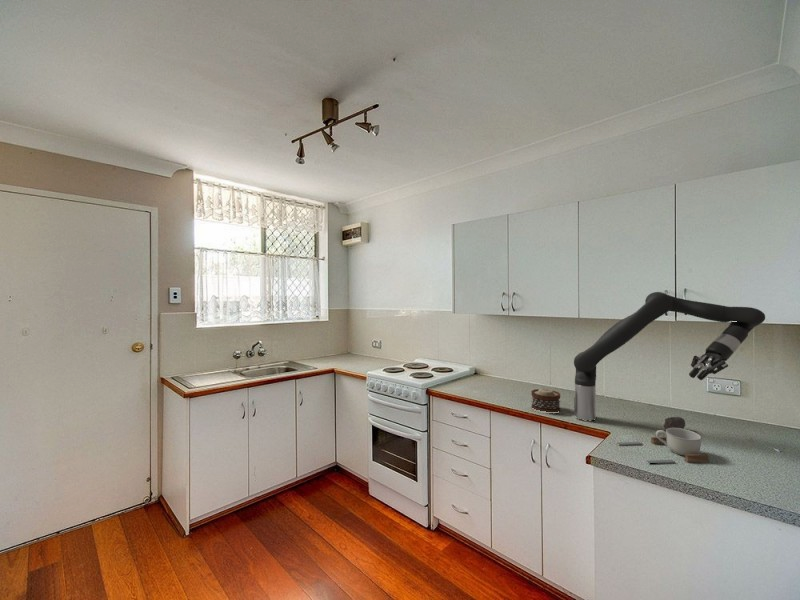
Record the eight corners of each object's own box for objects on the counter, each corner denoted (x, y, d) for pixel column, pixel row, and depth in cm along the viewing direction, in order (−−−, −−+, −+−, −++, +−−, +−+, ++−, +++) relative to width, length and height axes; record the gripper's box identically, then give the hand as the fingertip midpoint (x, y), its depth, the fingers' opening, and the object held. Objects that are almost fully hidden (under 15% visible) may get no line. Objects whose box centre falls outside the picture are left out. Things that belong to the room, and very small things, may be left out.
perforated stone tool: (677, 427, 164) (677, 412, 164) (690, 431, 159) (690, 415, 159) (660, 433, 157) (660, 417, 157) (673, 437, 152) (673, 421, 152)
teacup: (701, 452, 137) (701, 432, 137) (700, 462, 129) (700, 440, 129) (657, 442, 147) (657, 423, 147) (654, 451, 139) (654, 431, 139)
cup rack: (651, 443, 146) (651, 437, 146) (669, 442, 147) (669, 436, 147) (687, 462, 129) (687, 455, 129) (708, 461, 130) (708, 454, 130)
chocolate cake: (550, 395, 180) (525, 389, 192) (550, 416, 180) (525, 408, 192) (566, 390, 188) (541, 385, 200) (566, 411, 188) (541, 404, 201)
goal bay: (616, 444, 146) (616, 442, 146) (639, 443, 146) (639, 441, 146) (649, 464, 128) (649, 462, 128) (675, 463, 129) (675, 461, 129)
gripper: (701, 338, 151) (674, 367, 150) (734, 343, 137) (704, 375, 136) (712, 351, 151) (686, 379, 151) (746, 356, 137) (717, 388, 137)
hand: (695, 377), depth 143 cm, fingers open, 3 cm apart
